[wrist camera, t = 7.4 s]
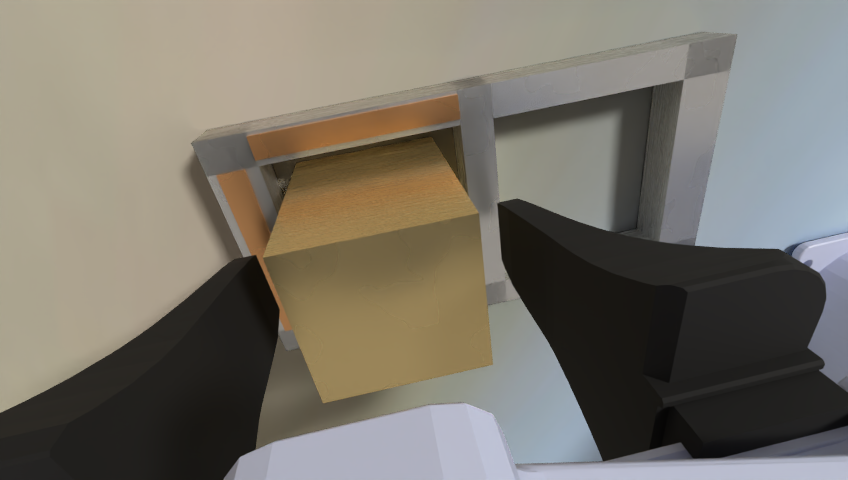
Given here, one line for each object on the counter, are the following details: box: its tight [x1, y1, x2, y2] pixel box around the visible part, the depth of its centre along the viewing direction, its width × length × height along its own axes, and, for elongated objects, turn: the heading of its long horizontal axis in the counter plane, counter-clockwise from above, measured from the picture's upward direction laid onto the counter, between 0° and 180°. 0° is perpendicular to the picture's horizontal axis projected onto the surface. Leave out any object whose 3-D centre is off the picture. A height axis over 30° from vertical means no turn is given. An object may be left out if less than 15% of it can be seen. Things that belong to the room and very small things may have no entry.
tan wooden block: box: [263, 137, 493, 403], centre depth 12 cm, size 4×4×6 cm
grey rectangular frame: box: [191, 32, 737, 351], centre depth 14 cm, size 8×16×2 cm, turn 99°
